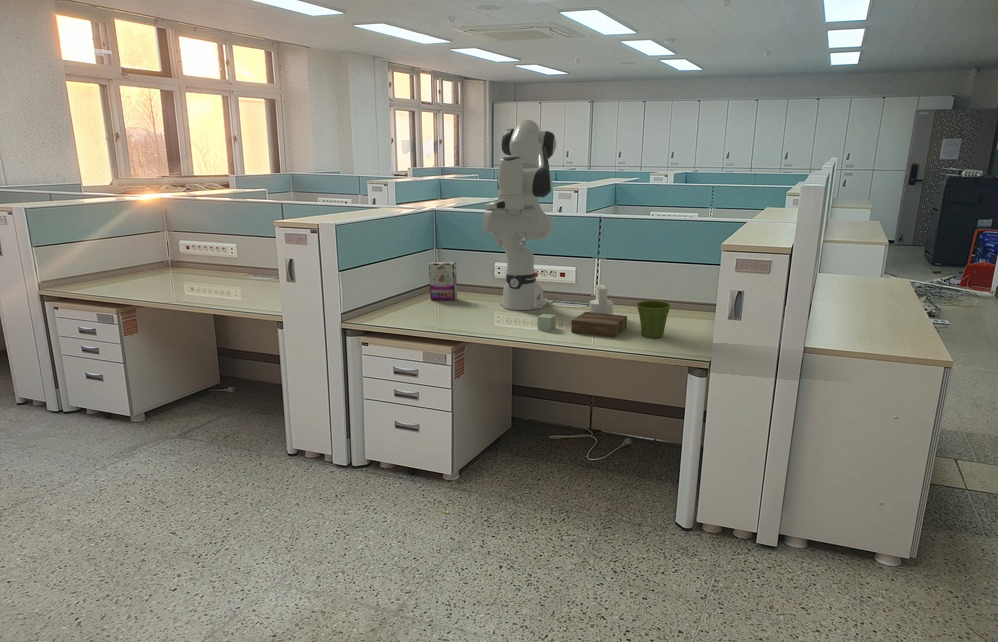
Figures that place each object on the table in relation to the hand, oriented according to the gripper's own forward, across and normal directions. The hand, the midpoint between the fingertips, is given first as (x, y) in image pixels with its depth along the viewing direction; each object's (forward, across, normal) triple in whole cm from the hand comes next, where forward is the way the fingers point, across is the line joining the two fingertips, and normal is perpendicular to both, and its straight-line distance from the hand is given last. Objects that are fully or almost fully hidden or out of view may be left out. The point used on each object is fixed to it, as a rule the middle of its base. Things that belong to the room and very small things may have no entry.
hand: (511, 245), depth 229 cm
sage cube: (+30, -17, -4) cm, 35 cm away
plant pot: (+32, -43, +24) cm, 58 cm away
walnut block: (+31, -32, +8) cm, 45 cm away
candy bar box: (+24, -7, -69) cm, 74 cm away
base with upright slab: (+28, -45, -7) cm, 53 cm away
